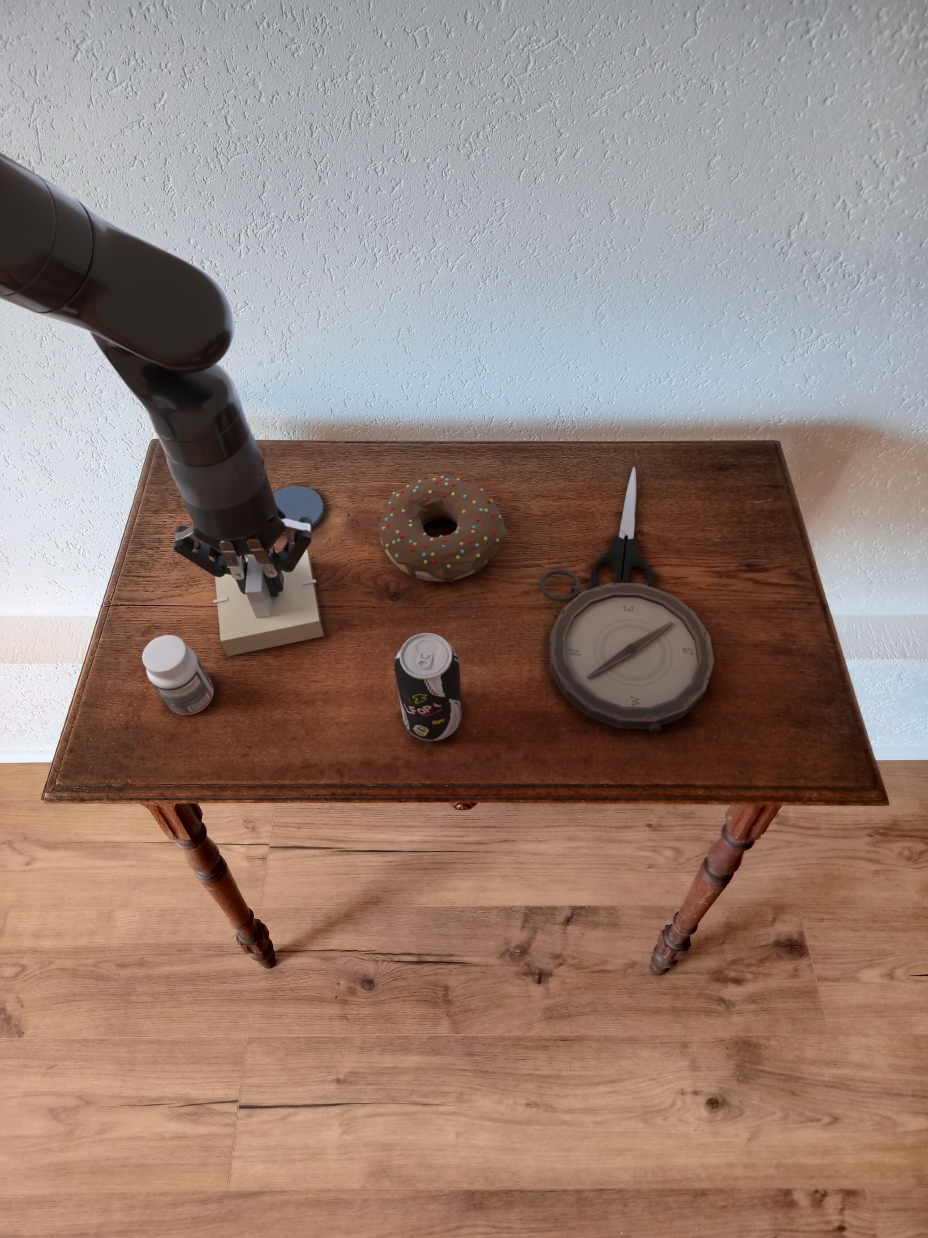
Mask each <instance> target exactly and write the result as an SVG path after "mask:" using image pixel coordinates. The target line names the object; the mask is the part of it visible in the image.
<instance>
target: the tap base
mask: <svg viewBox="0 0 928 1238" xmlns="http://www.w3.org/2000/svg"><path fill="white" fill-rule="evenodd" d="M246 562H248V557H246ZM282 573H283V576H284V588H283V592H279V596H278V597H272V611H271V616H269V617H257V618H256V617H255V614H254V612H253V610H252V607H251V605H250V602H249V600H248V598H247V595H246V594H243V593H242V592H241V591H240V589H239V587H238V584H237V582H236V580H235V579H234V578H233V577H232V575H229V574H225V575H224V576H223V577H215V576H214V582H215V593H216V599H213V600H212V603H213V604H217V615H218V626H219V627H218V629H219V638H220V642H221V645H222V646H223V648H224V650H225V653H226V655H227V656H228V657H233V656H237V655H242V654H246V653H250V652H255V651H260V650H264V649H269V648H274V647H279V646H284V645H288V644H292V643H298V642H303V641H307V640H312V639H317V638H321V637H325V633H324V627H323V622H322V615H321V610H320V605H319V604H320V603H319V599H318V592H317V586H316V584H317V580H316V579H315V575H314V569H313V564H312V560H311V556H310V553H309V550H308V548H307V549H306V551H305V552H304V554H303V556H302V557H301V559H300V561H299V562H298V564H297V565H296V567H295V569H294V570H293V571H292V572H284V571H283V570H282Z"/></svg>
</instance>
